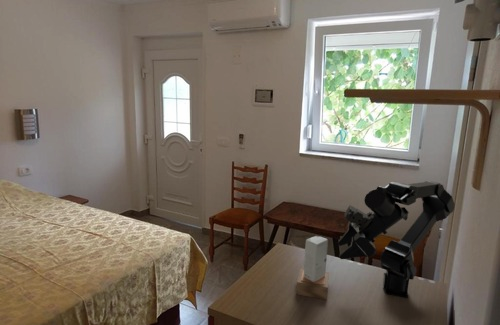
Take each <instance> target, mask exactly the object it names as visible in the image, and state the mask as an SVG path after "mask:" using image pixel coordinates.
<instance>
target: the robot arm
mask: <svg viewBox="0 0 500 325" xmlns="http://www.w3.org/2000/svg"><path fill="white" fill-rule="evenodd" d="M417 199H421V201H422V212H421V213H420V214H419V216H418V217H417V219H415V221H414V222H413V223H412V225H411V226H410V227H409V229H408V230H407V231H406V232H405V234H404V235H403V236H402V238H401V239H400V240H399V241H396V240H393V239H392V240H391V241H389V243H388V244H387V246H385V247H384V249H383V250H382V252H381V253H380V266H381V269H382V270H383V269H384V270H385V272H384V273H383V278H382V288H383V289H384V292H385V294H387V295H391V296H398V297H404V298H409V284H410V280H411V281H413V280H414V277H415V276H416V274H417V267H416V266H415V264H414V260H415V259H414V253H415V251H416V250H417V249H418V247H419V246H420V244H421V243H422V241H423V240H424V239H425V237H427V235H428V234H429V232H430V231H431V229H432V228H434V225H435V224H436V223H437V222H439V221H442V220H445V219H447V218H448V217H449V216H450V214H452V213H453V211H454V210H455V206H456V204H455V202H454V198H453V196H452V195H451V194H450V193H449V192H448V191H447V190H446V189H445V187H444V185H443V184H441V183H439V182H435V181H429V180H426V181H422V182H415V183H408V184H407V183H403V182H400V181H390V182H389V183H388V184H387V185H385V186H384V187H383V186H379V185H378V186H376V188H375V189H373V190H371V191H368V193H367V194H365V197H364V199H363V200H364V205H365V206H366V207H367V208H369V209H370V210H371V211H369V212H368V213H364V212H363V211H362V210H360V209H358V208H356V207H354V206H353V205H349V206H348V207H347V209H346V210H345V212H344V214H343V215H344V219H345V220H347V221H348V224H347V225H348V227H347V230H346V231H345V233H344V234H343V235H342V236H341V238H340V239H339V241H338V242H337V245H338V247H339V246H345V245H348V244H350V243H351V244H350V245H348V246H347V247H346V248H345V249H344V250H343V251H342V252H341V253H340V254H339V255H338V258H339V259H340V260H346V259H353V258H362V257H365V258H369V259H370V258H373V257H374V256H375V255H377V254H376V252H377V249H376V246H375V243H376V238H377V237H379V236H380V235H382V234H383V235H386V234H387V233H388V231H387V230H389V229H390V228H392V227H393V226H394V225H395V224H398V223H399V222H400V221H401V220H402V219H403V220H404V221H407V220H408V217H409V216H408V215H409V211H408V209H407V208H406V207H404V206H411V205H413V204H415V203H416V201H417ZM399 204H401V205H404V206H403V207H401V206H400V205H399Z"/></svg>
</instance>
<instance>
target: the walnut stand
mask: <svg viewBox="0 0 500 325" xmlns="http://www.w3.org/2000/svg"><path fill="white" fill-rule="evenodd" d="M299 269H300V270H299V273H298V277H297V281H296V290H295V291H296V295H299V296H304V297H309V298H315V299H322V300H326V301H327V300H328V289H329V280H330V272H329V271H326V273H325V276H324V277H323V278H321V279H319V280H317V281H315V282H312V281H310V280H308V279H306V278H305V277H304V276H303V275H304V267H300V268H299Z"/></svg>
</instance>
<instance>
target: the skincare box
mask: <svg viewBox="0 0 500 325" xmlns="http://www.w3.org/2000/svg"><path fill="white" fill-rule="evenodd" d="M328 242H329V239H328V238H325V237H322V236H319V235H315V236H312V237H310V238H307V239H306V240H305V247H304V248H305V249H304V262H303V263H304V264H303V265H304V266H303V268H304V275H303V276H304V277H305V278H306V279H308V280H310V281H312V282H315V281H317V280H319V279H321V278H323V277H324V276H325V273H326V272H327V271H326V270H327V260H328V259H327V257H328V246H329V244H328Z"/></svg>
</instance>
